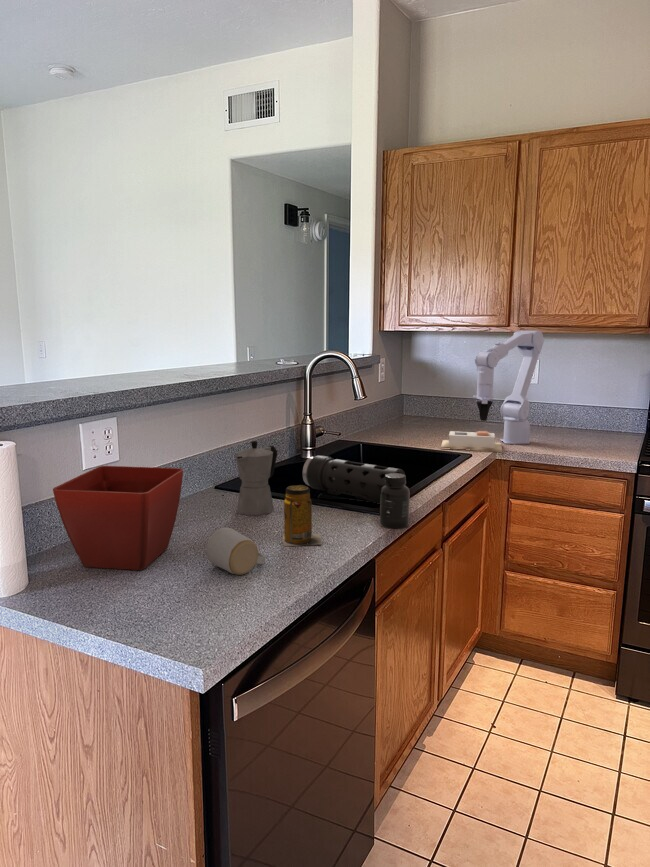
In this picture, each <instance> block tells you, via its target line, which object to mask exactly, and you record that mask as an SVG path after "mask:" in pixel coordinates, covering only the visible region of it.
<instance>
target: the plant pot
mask: <svg viewBox="0 0 650 867" xmlns="http://www.w3.org/2000/svg"><path fill="white" fill-rule="evenodd" d="M183 476H184V469H183V468H179V467H178V468H176V467H175V468H174V467H155V466H154V467H152V466H151V467H149V466H147V467H146V466H123V465H122V466H120V465H119V466H118V465H101V466H98V467H96V468H93V469H91V470H89V471H86V472H85V473H82V474H80V475H78V476H76V477H74V478H71V479H70V480H67V481H66V482H63V483H61V484H59V485H57V486H54V487H53V488H52V493H53V496H54V500H55V501H54V502H55V504H56V507H57V509H58V513H59V516H60V519H61V523H62V524H63V527H64V529H65V532H66V534H67V536H68V539H69V540H70V543H71V545H72V548H73V549H74V551H75V553H76V554H77V557H78V558H79V560H80V561H81V564H82V565H83V566H84V567H85V568H101V569H117V570H118V569H119V570H132V571H134V570H135V571H140V570H144V569H145V568H147V567H148V566H150V564H151V563H152V562H153V561H154V560H156V559H157V558H158V557H159V556H160V555H161V554H162V553H164V551H166V550H167V549H168V547H169V544H170V542H171V538H172V534H173V531H174V527H175V523H176V518H177V514H178V510H179V505H180V500H181V499H180V498H181V494H182V493H181V491H182V485H183Z"/></svg>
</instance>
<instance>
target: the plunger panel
mask: <svg viewBox="0 0 650 867" xmlns="http://www.w3.org/2000/svg"><path fill="white" fill-rule="evenodd" d="M456 432H457V431H455V430H454V431H453V430H450V431H449V434H448V440H449V446H465V447H485V448H494V445H495V442H496V437H495V435H496V434H495V433H494V432H488V436H477V431H475V432H474V431H473V432H472V431H462V432H463V433H467V435H456Z"/></svg>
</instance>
